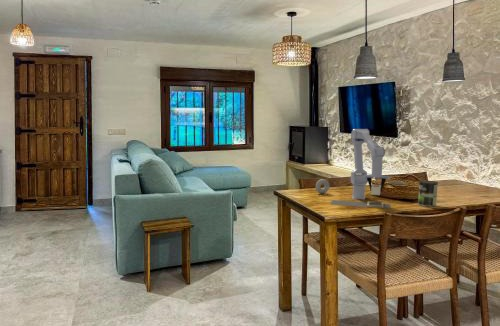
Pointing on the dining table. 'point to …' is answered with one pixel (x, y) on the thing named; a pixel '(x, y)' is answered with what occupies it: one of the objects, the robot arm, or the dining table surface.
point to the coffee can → (427, 193)
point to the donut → (318, 186)
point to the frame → (374, 205)
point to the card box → (375, 189)
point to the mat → (358, 204)
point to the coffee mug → (397, 183)
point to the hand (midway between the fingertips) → (375, 191)
